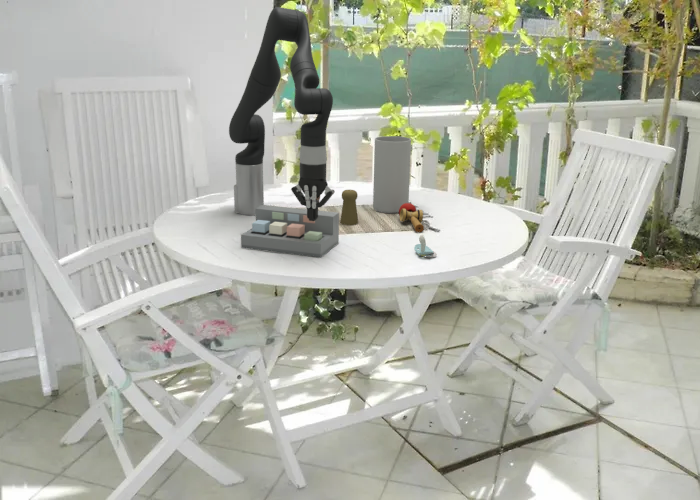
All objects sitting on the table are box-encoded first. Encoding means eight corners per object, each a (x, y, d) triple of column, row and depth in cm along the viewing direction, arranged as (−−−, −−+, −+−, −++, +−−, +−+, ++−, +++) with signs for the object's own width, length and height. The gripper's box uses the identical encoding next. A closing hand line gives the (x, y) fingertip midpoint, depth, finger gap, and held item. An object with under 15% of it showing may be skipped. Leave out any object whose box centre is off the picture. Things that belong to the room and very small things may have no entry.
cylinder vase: (367, 206, 270) (368, 137, 263) (398, 203, 275) (400, 135, 268) (382, 215, 259) (384, 142, 252) (414, 212, 264) (417, 140, 257)
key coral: (286, 239, 219) (286, 226, 218) (292, 235, 223) (292, 223, 222) (299, 241, 218) (299, 228, 217) (304, 237, 222) (304, 224, 221)
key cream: (269, 237, 221) (269, 225, 220) (275, 233, 225) (274, 221, 224) (282, 238, 220) (281, 226, 219) (287, 235, 223) (287, 222, 222)
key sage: (304, 247, 218) (304, 234, 217) (309, 243, 222) (309, 231, 221) (317, 248, 217) (317, 236, 216) (322, 244, 221) (322, 232, 219)
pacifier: (431, 251, 222) (412, 251, 221) (433, 231, 220) (413, 231, 219) (439, 259, 215) (419, 259, 214) (441, 238, 214) (421, 238, 212)
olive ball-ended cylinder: (356, 225, 246) (356, 192, 243) (338, 224, 248) (338, 191, 244) (359, 220, 252) (360, 188, 249) (342, 219, 253) (342, 187, 250)
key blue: (252, 235, 223) (252, 223, 222) (258, 231, 226) (257, 219, 225) (264, 236, 222) (264, 224, 220) (270, 233, 225) (270, 221, 224)
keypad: (241, 247, 222) (240, 216, 219) (263, 234, 235) (262, 204, 232) (320, 257, 214) (320, 225, 211) (338, 243, 228) (338, 212, 225)
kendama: (432, 236, 242) (417, 214, 258) (431, 218, 239) (415, 197, 255) (409, 240, 241) (395, 218, 257) (407, 223, 238) (393, 201, 254)
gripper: (285, 161, 210) (286, 221, 216) (330, 165, 206) (329, 226, 212) (296, 156, 217) (296, 214, 223) (339, 160, 213) (338, 219, 219)
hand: (312, 220), depth 217 cm, fingers closed
